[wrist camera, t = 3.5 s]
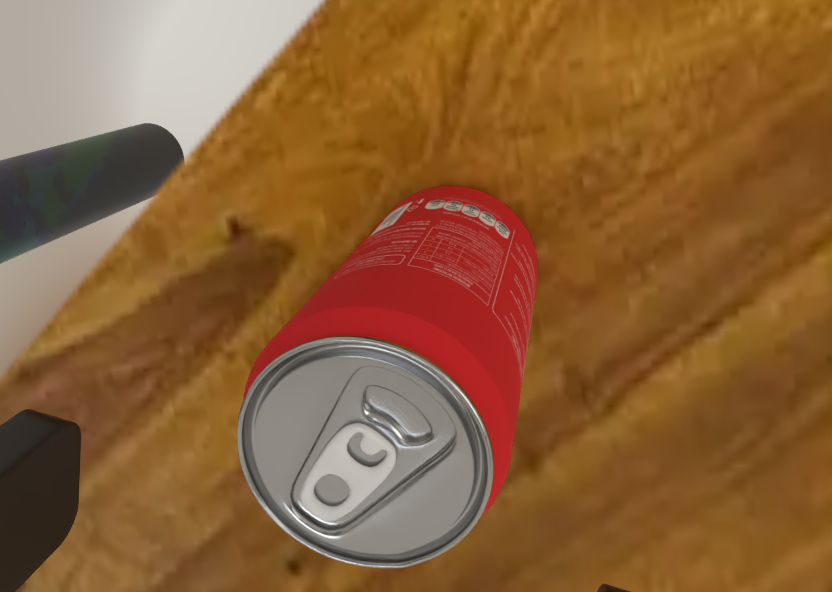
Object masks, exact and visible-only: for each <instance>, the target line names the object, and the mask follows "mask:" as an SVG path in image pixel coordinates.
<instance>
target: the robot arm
mask: <svg viewBox="0 0 832 592" xmlns="http://www.w3.org/2000/svg"><path fill="white" fill-rule="evenodd" d="M80 449H81V432H80V428H79V426H78V425H77V424H76V423H74V422H71V421H68V420H64V419H61V418H58V417H54V416H51V415H48V414H44V413H41V412H38V411H35V410H30V409H28V410H24V411H21V412H20V413H18V414H17V415H15V416H14V417H12V418H11V419H10V420H8V421H7V422H5V423H4V424H3V425H1V426H0V592H15V591H16V590H17V589H18V588H19V587H20V586H21V585H22V584H23V583H24V582H25V581H26V580H27V579H28V578H29V577H30V576H31V575H32V574H33V573H34V572H35V571H36V570H37V569H38V568H39V566H40V565H41V564H42V563H43V562H44V561H45V560H46V559H47V558H48V557H49V556H50V555H51V554H52V553H53V552H54V551H55V550H56V549H57V548H58V547H59V546H60V545H61V543H62V542H63V541H64V539H65V538H66V536H67V535H68V533H69V531H70V529H71V527H72V525H73V523H74V520H75V517H76V514H77V510H78V503H79V476H80ZM598 592H630V591H627V590H623V589H620V588H617V587H613V586H610V585H607V584H602V585H601V586H600V588H599V590H598Z"/></svg>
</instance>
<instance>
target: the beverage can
mask: <svg viewBox="0 0 832 592" xmlns="http://www.w3.org/2000/svg"><path fill="white" fill-rule="evenodd" d="M537 278H538V261H537V255H536V251H535V247H534V244H533V241H532V239H531V236H530V234H529V233H528V231H527V229H526V227H525V226H524V224H523V223H522V221H521V220H520V219H519V218H518V217H517V215H516V214H515V213H514V212H513V211H512V210H511V209H510V208H508V207H507V206H506V205H505V204H503V203H502V202H501V201H499V200H498V199H496V198H494V197H492V196H490V195H488V194H486V193H484V192H481V191H478V190H475V189H472V188H467V187H461V186H440V187H434V188H430V189H426V190H423V191H420V192H418V193H415V194H413V195H411V196H410V197H408V198H406V199H405V200H403V201H402V202H401V203H399V204H398V205H397V206H396V207H395V208H394V209H393V210H392V211H391V212H390V213H389V214H388V215H387V216H386V217H385V218H384V219H383V220H382V221H381V222H380V223H379V224H378V226H377V227H376V228H375V229H374V230H373V231H372V232H371V233H370V234H369V235H368V236H367V237H366V238H365V240H364V241H363V242H362V243H361V244H360V245H359V246H358V247H357V248H356V249H355V250H354V251H353V253H352V254H351V255H350V256H349V257H348V258H347V259H346V260H345V261H344V262H343V263H342V264H341V265H340V267H339V268H338V269H337V270H336V271H335V272H334V273H333V274H332V275H331V276H330V277H329V278H328V280H327V281H326V282H325V283H324V284H323V285H322V286H321V287H320V288H319V289H318V290H317V291H316V292H315V294H314V295H313V296H312V297H311V298H310V299H309V300H308V301H307V302H306V303H305V304H304V305H303V306H302V308H301V309H300V310H299V311H298V312H297V313H296V314H295V315H294V316H293V317H292V318H291V319H290V321H289V322H288V323H287V324H286V325H285V326H284V327H283V328H282V329H281V330H280V331H279V332H278V333H277V335H276V336H275V337H274V338H273V339H272V340H271V341H270V342H269V343H268V345H267V346H266V347H265V348H264V350H263V351H262V352H261V354H260V355H259V357H258V358H257V360H256V362H255V364H254V366H253V368H252V370H251V372H250V375H249V378H248V381H247V384H246V388H245V393H244V399H243V403H242V406H241V409H240V413H239V418H238V425H237V447H238V455H239V459H240V464H241V467H242V470H243V473H244V476H245V478H246V481H247V483H248V485H249V487H250V489H251V491H252V493H253V494H254V496H255V498H256V499H257V501H258V502H259V504H260V505H261V507H262V508H263V509H264V511H265V512H266V513H267V514H268V515H269V516H270V518H271V519H272V520H273V521H274V522H275V523H276V524H277V525H278V526H279V527H280V528H282V529H283V530H284V531H285V532H286V533H287V534H289V535H290V536H291V537H293V538H294V539H295V540H297V541H298V542H300V543H301V544H303V545H305V546H306V547H308V548H310V549H312V550H313V551H315V552H317V553H319V554H322V555H324V556H326V557H329V558H331V559H334V560H337V561H340V562H344V563H347V564H352V565H357V566H362V567H371V568H405V567H409V566H413V565H416V564H419V563H422V562H425V561H428V560H430V559H433V558H435V557H437V556H439V555H441V554H443V553H445V552H446V551H448V550H449V549H451V548H452V547H454V546H455V545H456V544H458V543H459V542H460V541H461V540H462V539H463V538H464V537H466V536H467V534H468V533H469V532H470V531H471V530H472V529H473V528H474V526H475V525H476V524H477V522H478V521H479V519H480V517H481V516H482V515H483V514H484V513H485V512H486V511H487V510H488V509H489V507H490V506H491V505H492V503H493V502H494V500H495V499H496V497H497V496H498V494H499V492H500V490H501V488H502V486H503V484H504V481H505V479H506V476H507V473H508V469H509V465H510V460H511V454H512V447H513V441H514V434H515V427H516V421H517V414H518V407H519V401H520V394H521V387H522V380H523V374H524V367H525V360H526V354H527V347H528V340H529V333H530V327H531V320H532V313H533V307H534V300H535V293H536V286H537Z"/></svg>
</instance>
